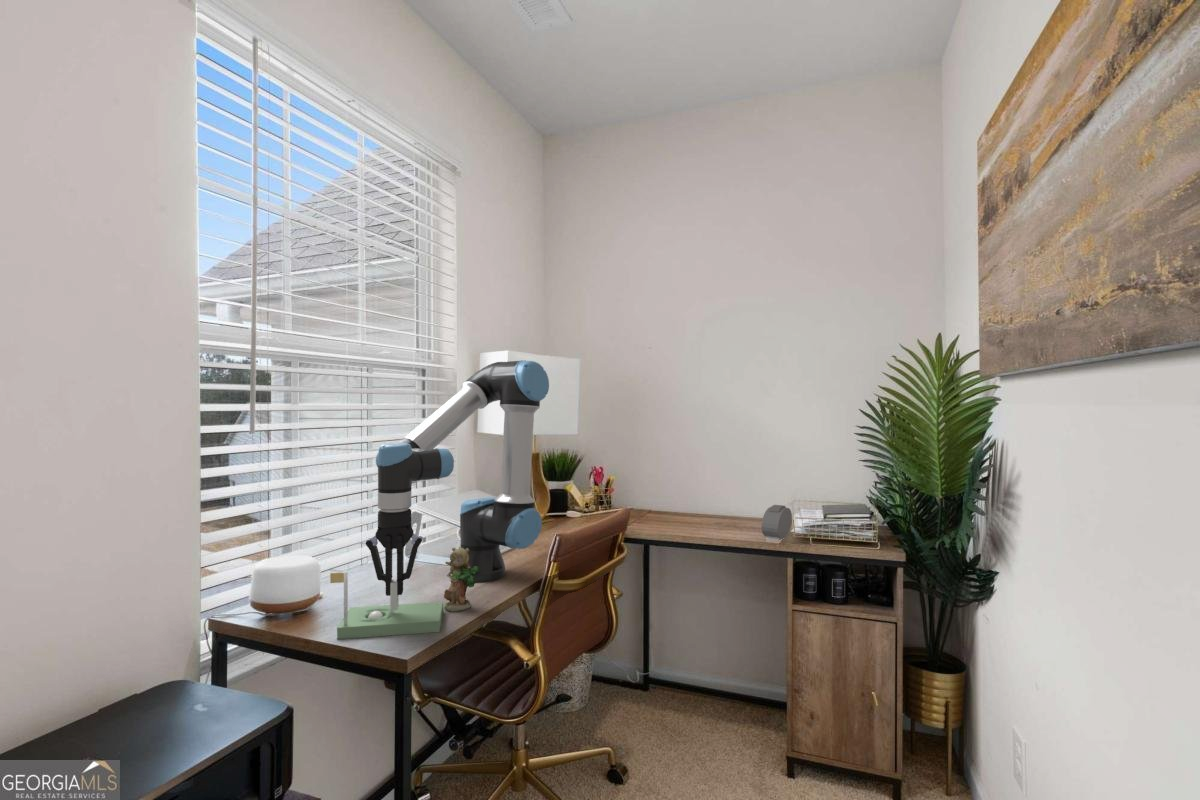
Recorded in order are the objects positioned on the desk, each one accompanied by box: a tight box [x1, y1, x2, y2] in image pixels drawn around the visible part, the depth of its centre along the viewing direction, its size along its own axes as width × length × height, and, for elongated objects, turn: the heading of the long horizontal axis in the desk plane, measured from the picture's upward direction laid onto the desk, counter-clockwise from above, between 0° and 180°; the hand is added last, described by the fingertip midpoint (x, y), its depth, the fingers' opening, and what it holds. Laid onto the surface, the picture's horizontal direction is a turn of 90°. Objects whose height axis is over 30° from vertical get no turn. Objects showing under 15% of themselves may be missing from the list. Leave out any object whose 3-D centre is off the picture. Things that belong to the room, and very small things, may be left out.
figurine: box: [443, 546, 479, 613], centre depth 152 cm, size 9×8×15 cm
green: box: [336, 601, 444, 640], centre depth 141 cm, size 22×13×2 cm, turn 101°
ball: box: [368, 611, 383, 619], centre depth 140 cm, size 3×3×3 cm
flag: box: [329, 571, 349, 626], centre depth 134 cm, size 4×1×12 cm, turn 101°
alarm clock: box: [761, 504, 793, 541], centre depth 228 cm, size 23×6×13 cm, turn 150°
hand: (394, 608), depth 141 cm, fingers closed
